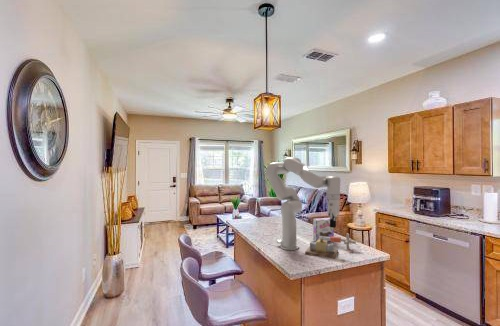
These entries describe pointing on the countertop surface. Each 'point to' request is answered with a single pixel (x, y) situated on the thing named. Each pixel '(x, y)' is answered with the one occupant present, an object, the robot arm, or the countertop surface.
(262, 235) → the countertop surface
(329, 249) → the ball valve
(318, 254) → the board
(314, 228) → the candy box
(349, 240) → the beige crossed-rod piece
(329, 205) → the robot arm
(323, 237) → the lever
